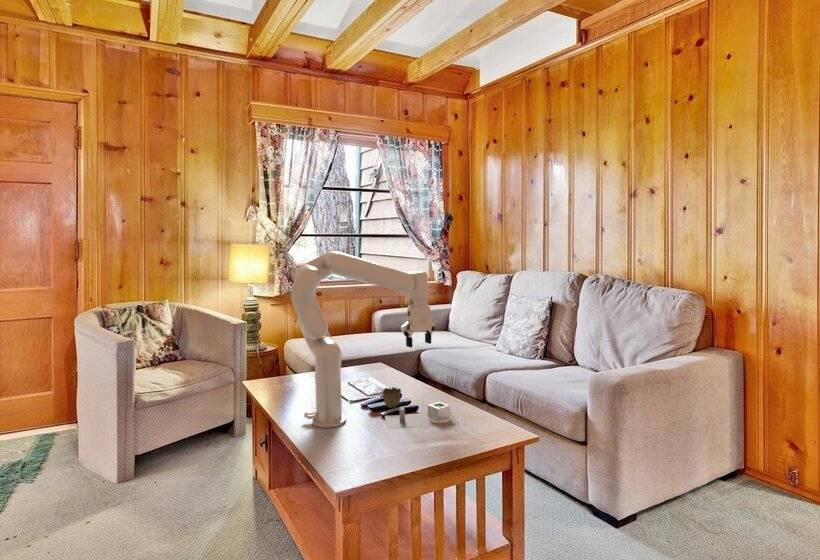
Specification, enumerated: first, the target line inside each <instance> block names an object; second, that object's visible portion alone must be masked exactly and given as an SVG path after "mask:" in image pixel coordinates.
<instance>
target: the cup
mask: <svg viewBox="0 0 820 560" xmlns="http://www.w3.org/2000/svg"><path fill="white" fill-rule="evenodd" d="M401 392H402V389H401V388H399V387H389V388H388V387H385V388H383V390H382V395H383V402H384V404H385V405H386V406H387V408H390V409H391V408H392V407H393V408H396V407H397V406H398V405H399V404H400V402H401ZM395 406H396V407H395ZM393 408H392V409H393Z"/></svg>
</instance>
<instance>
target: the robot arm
mask: <svg viewBox="0 0 820 560" xmlns="http://www.w3.org/2000/svg"><path fill="white" fill-rule="evenodd" d="M331 275H335V276H340V277H342V278H347V279H349V280H354V281H356V282H360V283H365V284H366V285H367V284H368V285H374V286H378V287H382V288H387V289H391V290H394V291H396V292H397V291H398V292H400V293H408V300H407V302H406V303H407V305H408V306H407V309H406V319H405V323H403V324H402V325H401V326H400V330H401V333H402V334H403V335H404V337H405V345H406V347H407V348H413V337H412V335H413V334H414V333H421V332H425V333H424V342H425V344H429V345H431V344H432V334H433V331H434V330H435V327H436V324H437V322H436V321H435V320H433V319H432V309H431V306H430V305H429V298H428V297H429V293H428V292H429V291H428V290H429V287H428V286H429V285H428V284H429V283H428V282H429V281H428V280H429V279H428V273H427V272H426V271H424V270H415V271H409V272H408V271H401V270H398V269H395V268H391V267H387V266H385V265H382V264H379V263H377V262H373V261H370V260H368V259H364V258H360V257H357V256H354V255H351V254H347V253H344V252H341V251H334V250H333V251H327V252H326V253H323V254H322V255H320V256H317V257H315V258H313V259H312V260H310V261H308V262H305V263H303V264H301V265H300V266H299V267H298V268H297V269H296V270H295V273H294V279H295V280H294V282H293V284H292V288H291V292H290V297H291V303H292V305H293V308H294V311H295V313H296V315H297V318H298V320H299V321H298V326H299V329H300V331H301V334H302V336H303V338H304V341H305V343H306V344H307V346H308V349H309V351H310V353H311V354H312V356H313V358H314V360H315V361H314V362H315V369H314V380H315V381H314V383H315V384H314V385H315V410H313V411H311V412H307V411H306V412H304V414H303V415H304V418H306V419H307V420H311V419H312V425H313V426H314V427H317V428H323V429H329V428H337V427H340V426H342V425H344V424H346V422H347V417H346V416H345V415H344V414H343V412H342V411H343V409H342V408H343V407H342V405H343V404H342V402H343V401H342V378H341V377H342V373H341V372H342V371H341V369H342V367H341V366H342V350H341V348H340V346H339V344H338V343H337V342H336V341H335V340H334V339H333V337H332V335H331V333H330V332H329V324H328V320H327V319H326V317H325V316H324V313H323V311H322V309H321V306H320V305H319V302H318V300H317V297H316V292H317V288H319V286H320V284H321V282H322V281H323V279H326V278H327V277H329V276H331Z"/></svg>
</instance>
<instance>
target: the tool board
mask: <svg viewBox="0 0 820 560" xmlns="http://www.w3.org/2000/svg"><path fill="white" fill-rule="evenodd" d="M437 407H441V406H440V405H439V406H437ZM384 418H385V423H386V426H387V429H388V430H390V429H391V430H392V429H393V430H394V429H407V428H422V427H434V426H435V427H437V426H448V425H450V426H451V425H460V423H459V422H458V419H457V418H456V417H455V415H454V414H453V412H452V411H450V419H447V420H444V421H441V422H436V421H434V420H432V419H430V418H428V412H427V413H425V412H424V413H411V414H410V413H407V414H406V409H405V408H404V407H403V408H399V414H391V415H384Z"/></svg>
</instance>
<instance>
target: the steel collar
mask: <svg viewBox="0 0 820 560" xmlns="http://www.w3.org/2000/svg"><path fill="white" fill-rule="evenodd" d="M439 405H440V406H441V407H437V406H439ZM450 412H451V405H450V404H447V403H445V402H442V401H437V402H432V403H429V404H427V413H428V418H430V419H432V420H434V421H436V422H441V421H444V420H447V419H450Z"/></svg>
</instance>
